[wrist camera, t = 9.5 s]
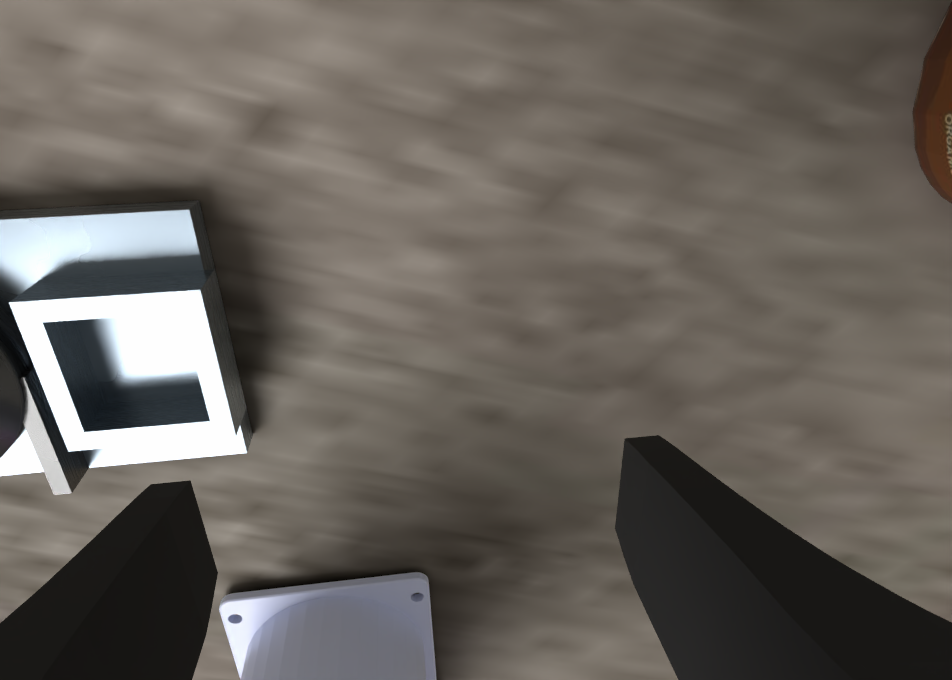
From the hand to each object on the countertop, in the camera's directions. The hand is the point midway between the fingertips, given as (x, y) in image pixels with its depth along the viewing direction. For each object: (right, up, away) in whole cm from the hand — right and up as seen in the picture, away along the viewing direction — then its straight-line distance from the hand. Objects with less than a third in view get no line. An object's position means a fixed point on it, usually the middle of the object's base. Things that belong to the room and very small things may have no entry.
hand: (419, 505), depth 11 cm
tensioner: (-12, +3, +8) cm, 14 cm away
